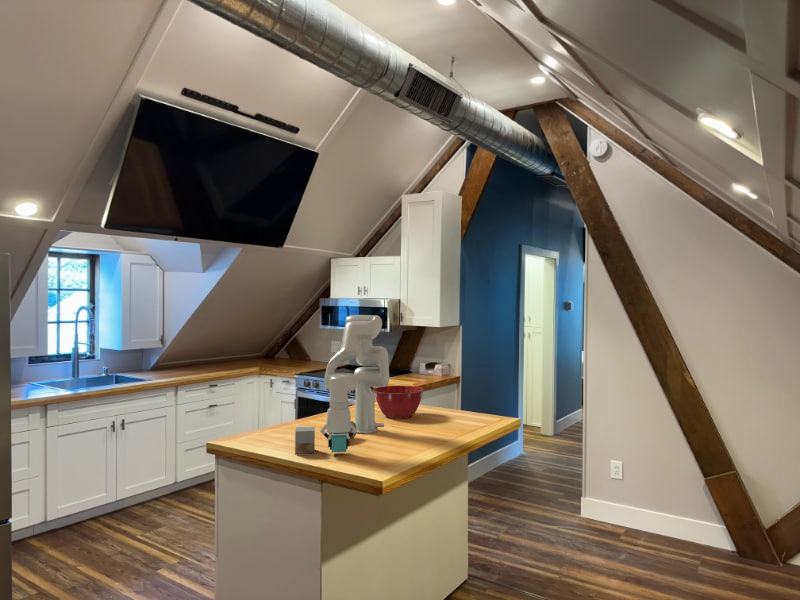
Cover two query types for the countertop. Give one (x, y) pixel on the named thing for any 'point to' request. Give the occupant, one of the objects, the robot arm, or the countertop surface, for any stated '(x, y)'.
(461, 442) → the countertop surface
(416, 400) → the mixing bowl
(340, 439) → the teal cube
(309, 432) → the block
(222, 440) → the countertop surface
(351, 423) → the tin
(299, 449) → the tower base
